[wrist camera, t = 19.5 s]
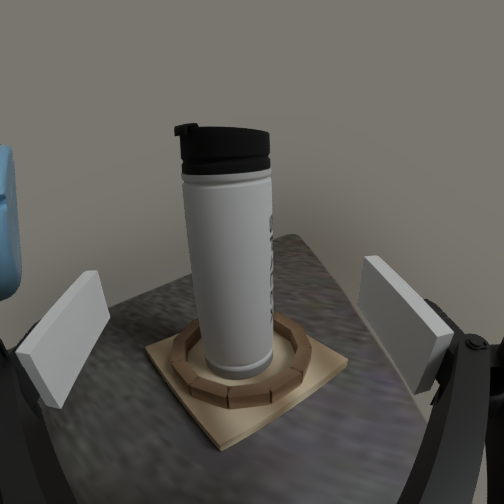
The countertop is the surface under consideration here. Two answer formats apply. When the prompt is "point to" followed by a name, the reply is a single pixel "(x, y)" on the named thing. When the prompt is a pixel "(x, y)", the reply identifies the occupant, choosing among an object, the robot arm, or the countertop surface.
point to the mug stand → (244, 380)
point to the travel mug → (230, 244)
